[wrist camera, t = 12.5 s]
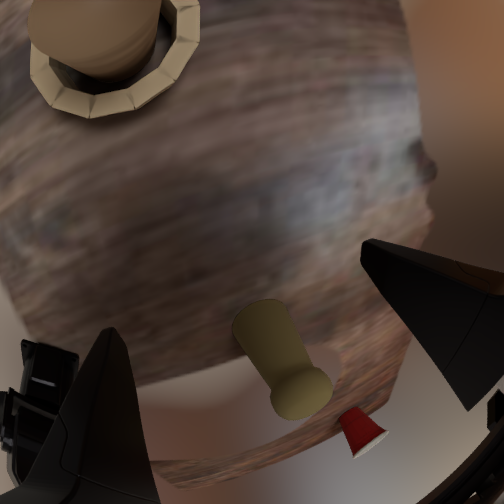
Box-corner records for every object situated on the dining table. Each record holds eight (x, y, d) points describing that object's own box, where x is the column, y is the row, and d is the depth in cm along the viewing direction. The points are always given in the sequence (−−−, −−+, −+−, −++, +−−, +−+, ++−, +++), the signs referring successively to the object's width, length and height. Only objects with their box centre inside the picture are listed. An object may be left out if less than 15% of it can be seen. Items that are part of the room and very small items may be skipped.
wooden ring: (146, 133, 15) (146, 139, 13) (28, 95, 11) (6, 94, 8) (216, 16, 13) (231, -1, 10) (98, -24, 8) (91, -45, 5)
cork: (227, 345, 28) (267, 436, 19) (238, 300, 25) (290, 400, 16) (278, 339, 30) (326, 417, 21) (294, 297, 27) (356, 379, 19)
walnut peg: (131, 92, 14) (114, 74, 6) (67, 71, 11) (5, 48, 4) (169, 27, 12) (192, -35, 5) (105, 7, 10) (81, -59, 2)
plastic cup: (370, 402, 61) (393, 433, 51) (338, 425, 61) (359, 457, 52) (360, 397, 54) (387, 433, 45) (324, 423, 55) (347, 460, 45)
